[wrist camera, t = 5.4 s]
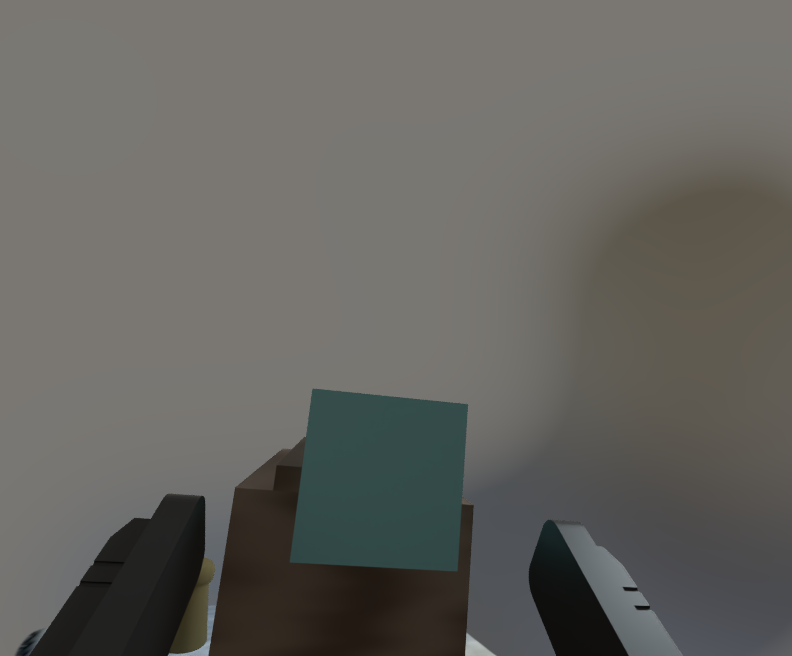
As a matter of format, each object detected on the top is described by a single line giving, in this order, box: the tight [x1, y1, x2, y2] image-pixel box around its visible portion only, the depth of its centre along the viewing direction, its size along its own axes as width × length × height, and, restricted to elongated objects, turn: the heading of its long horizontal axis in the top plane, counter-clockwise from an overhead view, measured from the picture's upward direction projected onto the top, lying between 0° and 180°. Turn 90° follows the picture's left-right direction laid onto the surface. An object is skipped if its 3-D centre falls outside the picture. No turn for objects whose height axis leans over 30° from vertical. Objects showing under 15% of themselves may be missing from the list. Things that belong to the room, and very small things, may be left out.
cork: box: [169, 558, 215, 653], centre depth 63 cm, size 6×6×11 cm
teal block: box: [290, 389, 468, 571], centre depth 22 cm, size 4×24×4 cm, turn 8°
